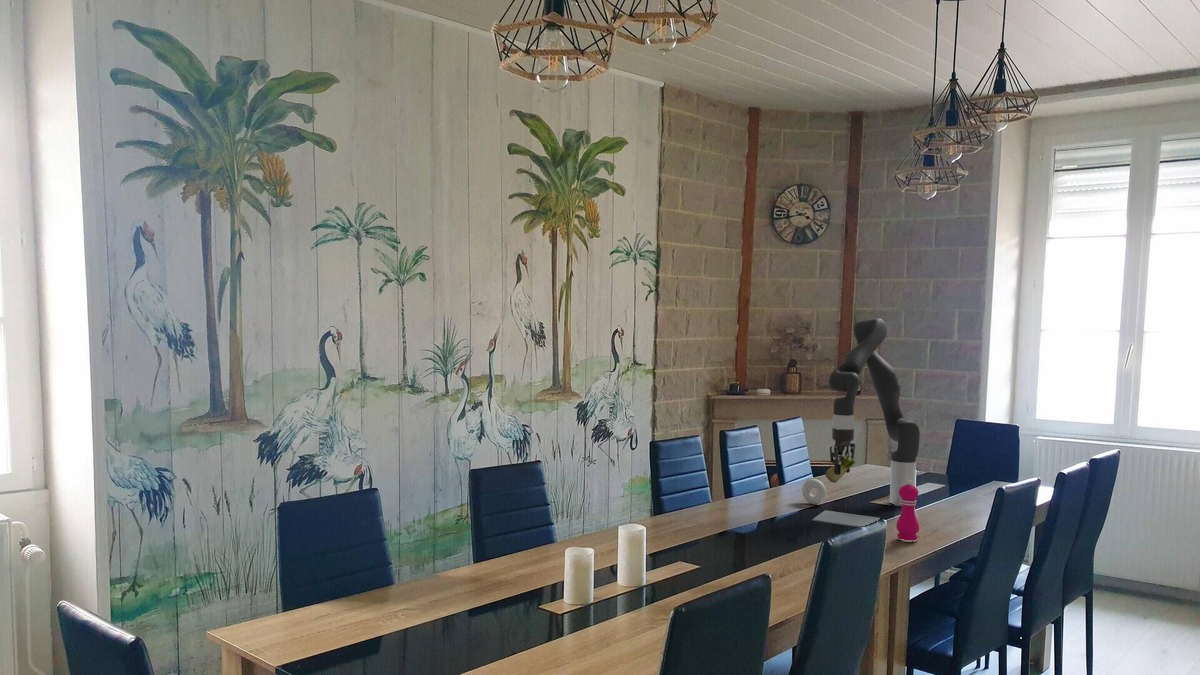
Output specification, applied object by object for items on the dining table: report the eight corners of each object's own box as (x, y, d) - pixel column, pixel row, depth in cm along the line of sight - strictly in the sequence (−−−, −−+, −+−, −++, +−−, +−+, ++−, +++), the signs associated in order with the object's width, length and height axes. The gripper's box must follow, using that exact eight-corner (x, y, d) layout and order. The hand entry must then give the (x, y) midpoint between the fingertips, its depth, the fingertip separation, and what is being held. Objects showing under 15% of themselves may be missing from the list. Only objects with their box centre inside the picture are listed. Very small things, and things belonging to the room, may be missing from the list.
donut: (827, 505, 325) (828, 480, 324) (823, 507, 322) (823, 481, 322) (804, 501, 332) (805, 476, 331) (800, 502, 329) (800, 477, 329)
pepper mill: (919, 538, 280) (921, 479, 279) (918, 544, 274) (920, 483, 273) (896, 536, 283) (898, 477, 282) (894, 541, 277) (896, 481, 276)
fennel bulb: (822, 477, 306) (844, 457, 299) (823, 469, 310) (845, 450, 304) (835, 486, 306) (857, 467, 299) (836, 479, 310) (858, 459, 304)
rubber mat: (825, 511, 316) (825, 510, 316) (879, 519, 305) (879, 517, 305) (812, 520, 302) (812, 519, 302) (869, 529, 292) (869, 527, 292)
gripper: (844, 424, 311) (842, 469, 312) (823, 427, 301) (822, 474, 302) (862, 426, 306) (861, 472, 306) (842, 430, 296) (841, 477, 296)
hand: (842, 473), depth 304 cm, fingers closed on fennel bulb, 5 cm apart
